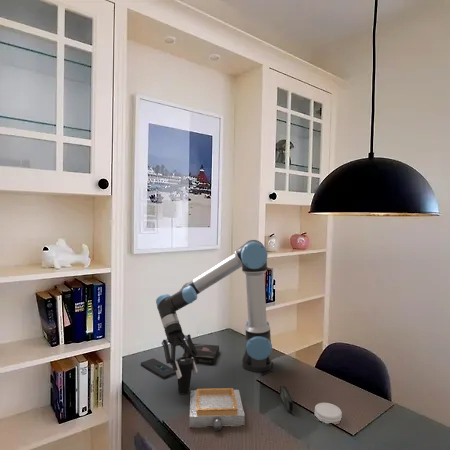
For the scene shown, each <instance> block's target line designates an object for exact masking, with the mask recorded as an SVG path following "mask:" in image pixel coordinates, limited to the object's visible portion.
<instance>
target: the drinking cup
mask: <svg viewBox="0 0 450 450" xmlns="http://www.w3.org/2000/svg"><path fill="white" fill-rule="evenodd" d="M183 350H184V352H183V354H184V356H179V357H177V358H175V362H176V361H177V363H178V365H179V368H180V372H181V375H182V377H181V378H180V379H178V377H177V376H176V377H177V393H179V394H181V395H185V394H188V393H190V391H191V390H190V388H191V382H192V374H193V373H192V372H193V370H192V366H193V362H194V359H193V358H191V357H188V356H186V345H185V348H184V349H183Z"/></svg>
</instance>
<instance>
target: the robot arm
mask: <svg viewBox="0 0 450 450" xmlns="http://www.w3.org/2000/svg"><path fill="white" fill-rule="evenodd" d="M267 251H268V250H267V249H266V247H265V245H264V244H263V243H262V242H261V241H260V240H256V239H250V240H247V241H246V242H245V243H244V244H243V245H241V246H240V247H238V248H237V249H235V250H234V253H233V254H231V255H230V256H228V257H226V258H224V260H222V261H220V262H219V263H218V264H216V265H214V266H212V267H211V268H210V269H208V270H207V271H205V272H203V273H202V274H200V275H198V276H196V277H195V278H194V279H192V280H190V281H189V282H186V283H185V284H183V286H182V287H181V288H180V289H179V290H178V291H177V292H176V293H173V294H172V295H170V294H168V293H164V294H160V295H159V296H158V297H157V298H156V300H155V304H156V308H157V311H158V314H159V316H160V317H159V318H160V320H161V323H162V327H163V329H164V333H165V336H166V339H163V340H162V342H161V345H162V348H163V351H164V356H165V363H166V365H167V364H169V365H171V368H173V370H174V371H176V374H175V375H176V377H178V379H180V378H181V377H182V375H181V372H180V368H179V365H178V363H177V361H176V347H179V346H180V348H182V349H183V350H184V348H185V345H186V353H187V355H188V356H189V357H191V358H193V359H194V362H193V366H192V372H193V373H192V374H193V375H197V373H198V372H199V371H198V367H197V362H196V360H195V356H196V355H197V354H198V353H197V351H196V349H195V346H194V344H195V343H193V340H192V338H191V337H192V336H191V334H190V333H189V334H184V332H183V329H182V325H181V323H180V320H179V316H178V314H177V311H179V310H181V309H183V308H184V307H186V306H187V305H190V304H192V303H194V302H195V301H197V299H198V295H199V294H200V293H203V292H204V291H205V290H206V289H208V288H210V287H212V286H214V285H215V284H217V283H218V282H220V281H221V280H223V279H224V278H227V277H228V276H230V275H231V274H233V273H234V272H236V271H238V270H239V269H242V270H241V271H242V272H243V273H244V274H245V284H246V285H245V286H246V287H245V288H246V289H245V290H246V303H247V306H246V307H247V320H246V325H245V328H244V329H245V331H244V332H245V350H244V353H243V355H242V358H241V366H242V367H243V368H244V369H245V370H247V371H250V372H255V373H258V372H259V373H263V372H266V371H267V372H268V371H269V370H270V369H271V368H272V358H271V356H270V355H271V353H272V349H273V345H272V338H271V337H272V336H271V327H270V322H269V321H267V303H266V286H265V285H266V284H265V282H266V281H265V273H266V272H267V271H268V252H267ZM168 343H169V344H170V348H169V344H168ZM188 346H189V347H188ZM178 379H177V380H178Z"/></svg>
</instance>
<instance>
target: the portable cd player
mask: <svg viewBox="0 0 450 450" xmlns="http://www.w3.org/2000/svg"><path fill="white" fill-rule="evenodd" d="M193 344H194V346H195V349H196V351H197V353H198V354H197V355H196V356H195V360H196V362H197V364H200V365H209V366H210V365H211V366H214V365H215V364H216V360H217V359H218V358H217V357H218V355H219V352H220V346H219V345H215V344H213V345H212V344H203V343H202V344H201V343H193ZM187 346H188V345H187ZM188 347H189V346H188ZM182 356H184V353H183V354H182ZM182 356H181V357H182ZM186 356H188V355H187V353H186ZM188 357H189V356H188ZM197 364H196V365H197Z"/></svg>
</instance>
